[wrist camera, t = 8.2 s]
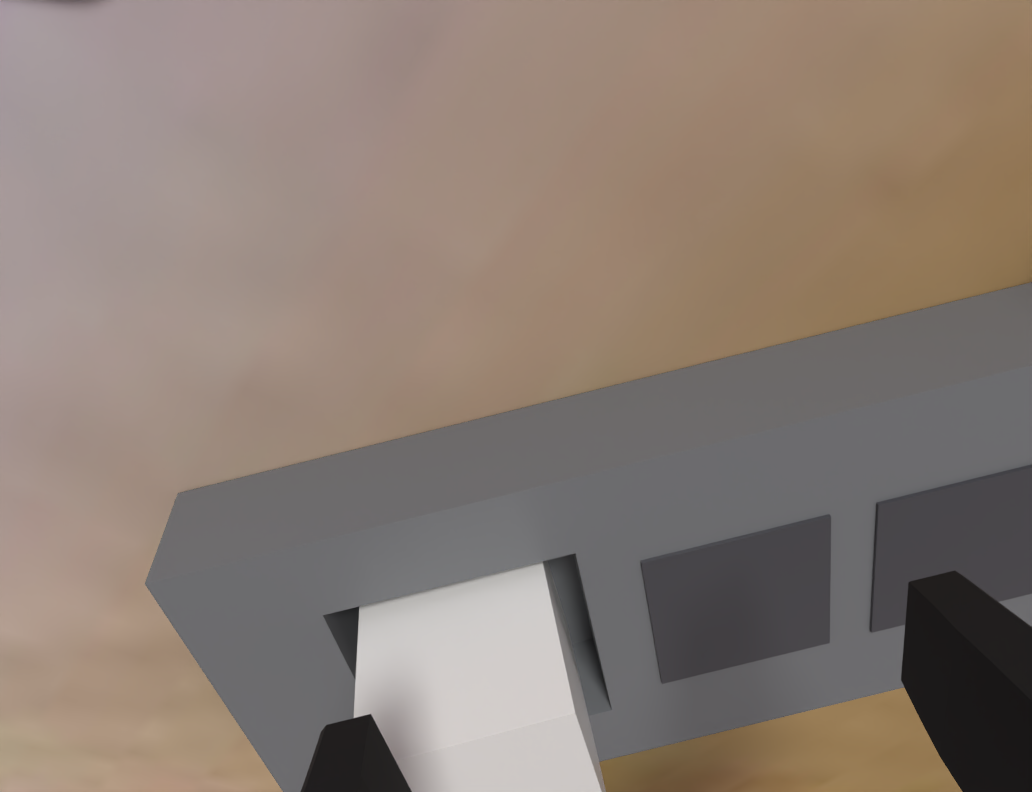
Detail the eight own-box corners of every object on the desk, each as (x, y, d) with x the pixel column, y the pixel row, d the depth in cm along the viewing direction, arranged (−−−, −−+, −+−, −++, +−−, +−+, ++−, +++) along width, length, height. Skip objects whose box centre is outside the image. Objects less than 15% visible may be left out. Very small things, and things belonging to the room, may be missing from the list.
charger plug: (530, 506, 20) (575, 713, 15) (566, 621, 22) (615, 832, 17) (362, 553, 20) (350, 773, 15) (415, 661, 23) (420, 883, 18)
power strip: (1071, 272, 19) (1177, 332, 16) (1015, 565, 25) (1088, 645, 22) (177, 493, 19) (143, 587, 17) (318, 736, 25) (309, 835, 22)
